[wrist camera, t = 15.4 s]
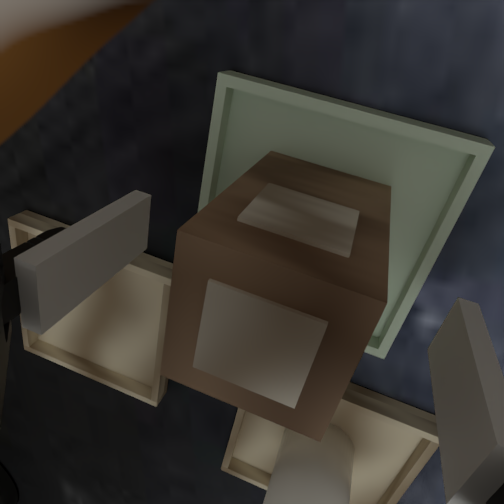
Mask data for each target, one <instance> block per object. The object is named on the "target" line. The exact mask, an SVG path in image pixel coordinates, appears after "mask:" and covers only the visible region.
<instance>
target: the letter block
mask: <svg viewBox="0 0 504 504" xmlns="http://www.w3.org/2000/svg"><path fill="white" fill-rule="evenodd" d="M390 210H391V186H388V185H385V184H381V183H378V182H375V181H371V180H368V179H365V178H361V177H358V176H355V175H351V174H348V173H345V172H341V171H338V170H335V169H331V168H328V167H325V166H321V165H318V164H314V163H311V162H308V161H304V160H301V159H298V158H294V157H291V156H288V155H284V154H281V153H278V152H274V151H270V152H269V153H268V154H267V155H265V156H264V157H263V158H262V159H261V160H259V161H258V162H257V163H256V164H255V165H253V166H252V167H251V168H250V169H249V170H248V171H246V172H245V173H244V174H243V175H242V176H240V177H239V178H238V179H237V180H236V181H235V182H233V183H232V184H231V185H230V186H229V187H227V188H226V189H225V190H224V191H223V192H222V193H220V194H219V195H218V196H217V197H216V198H214V199H213V200H212V201H211V202H210V203H209V204H207V205H206V206H205V207H204V208H203V209H201V210H200V211H199V212H198V213H197V214H196V215H194V216H193V217H192V218H191V219H190V220H188V221H187V222H186V223H185V224H184V225H183V226H181V227H180V228H179V229H178V230H177V237H176V245H175V254H174V262H173V270H172V279H171V287H170V295H169V303H168V312H167V320H166V328H165V337H164V345H163V353H162V362H161V370H160V375H162V376H164V377H166V378H169V379H171V380H174V381H176V382H178V383H181V384H183V385H185V386H188V387H190V388H193V389H195V390H197V391H200V392H202V393H204V394H207V395H209V396H212V397H214V398H216V399H219V400H221V401H223V402H226V403H228V404H231V405H233V406H235V407H238V408H240V409H242V410H245V411H247V412H250V413H252V414H254V415H257V416H259V417H261V418H264V419H266V420H269V421H271V422H273V423H276V424H278V425H280V426H283V427H285V428H288V429H290V430H292V431H295V432H297V433H299V434H302V435H304V436H307V437H309V438H311V439H314V440H316V441H318V442H321V440H322V438H323V436H324V434H325V432H326V430H327V428H328V426H329V423H330V421H331V419H332V417H333V415H334V413H335V411H336V409H337V407H338V405H339V403H340V401H341V399H342V396H343V394H344V392H345V390H346V388H347V386H348V384H349V382H350V380H351V378H352V376H353V374H354V372H355V369H356V367H357V365H358V363H359V361H360V359H361V357H362V355H363V353H364V351H365V349H366V347H367V345H368V342H369V340H370V338H371V336H372V334H373V332H374V330H375V328H376V326H377V324H378V322H379V320H380V318H381V315H382V313H383V311H384V309H385V307H386V305H387V299H388V270H389V240H390Z"/></svg>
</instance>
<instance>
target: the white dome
mask: <svg viewBox="0 0 504 504" xmlns="http://www.w3.org/2000/svg"><path fill="white" fill-rule="evenodd" d="M354 453H355V450H354V445H353V443H352V441H351V439H350V438H349V436H348V435H347V434H346V433H345V432H344V431H343V430H341V429H340V428H338V427H337V426H335V425H333V424H331V423H329V426H328V428H327V430H326V432H325V434H324V436H323V438H322V440H321V442H318V441H316V440H314V439H311V438H309V437H307V436H304V435H302V434H299V433H297V432H295V431H292V430H290V429H288V428H285V430H284V433H283V437H282V440H281V444H280V447H279V450H278V454H277V457H276V461H275V464H274V468H273V471H272V475H271V478H270V481H269V485H268V488H267V492H266V495H265V499H264V502H263V504H349V502H350V493H351V483H352V473H353V463H354Z"/></svg>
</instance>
